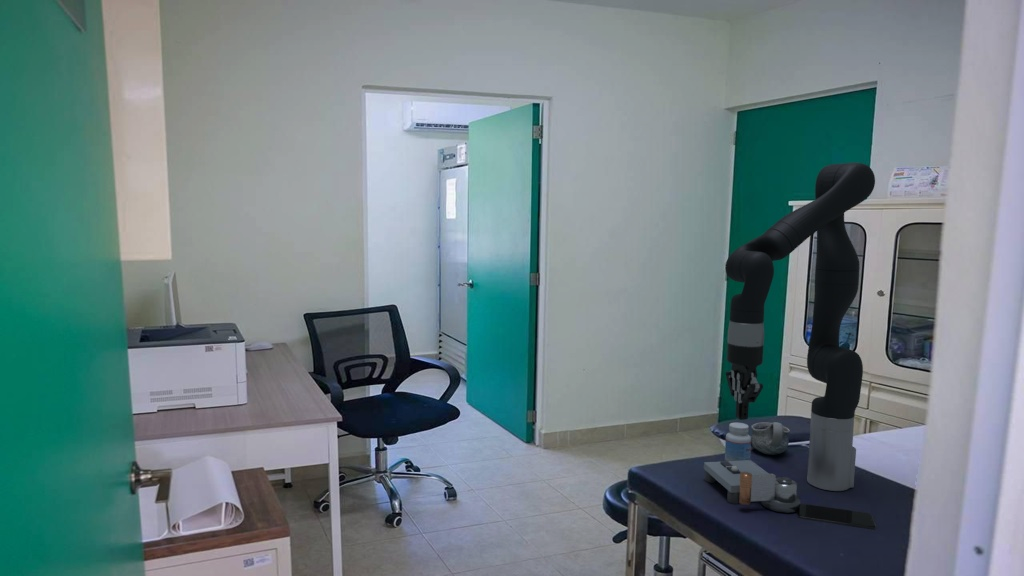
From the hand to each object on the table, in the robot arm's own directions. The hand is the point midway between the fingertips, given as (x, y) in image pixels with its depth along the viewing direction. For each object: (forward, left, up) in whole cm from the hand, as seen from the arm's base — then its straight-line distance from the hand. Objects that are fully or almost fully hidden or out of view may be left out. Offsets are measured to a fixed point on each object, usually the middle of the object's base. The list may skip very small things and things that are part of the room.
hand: (741, 418), depth 150 cm
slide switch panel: (-3, -5, -19) cm, 19 cm away
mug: (-23, -25, -19) cm, 39 cm away
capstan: (-4, +5, -18) cm, 19 cm away
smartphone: (-16, +11, -19) cm, 28 cm away
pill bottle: (-9, -17, -19) cm, 27 cm away
